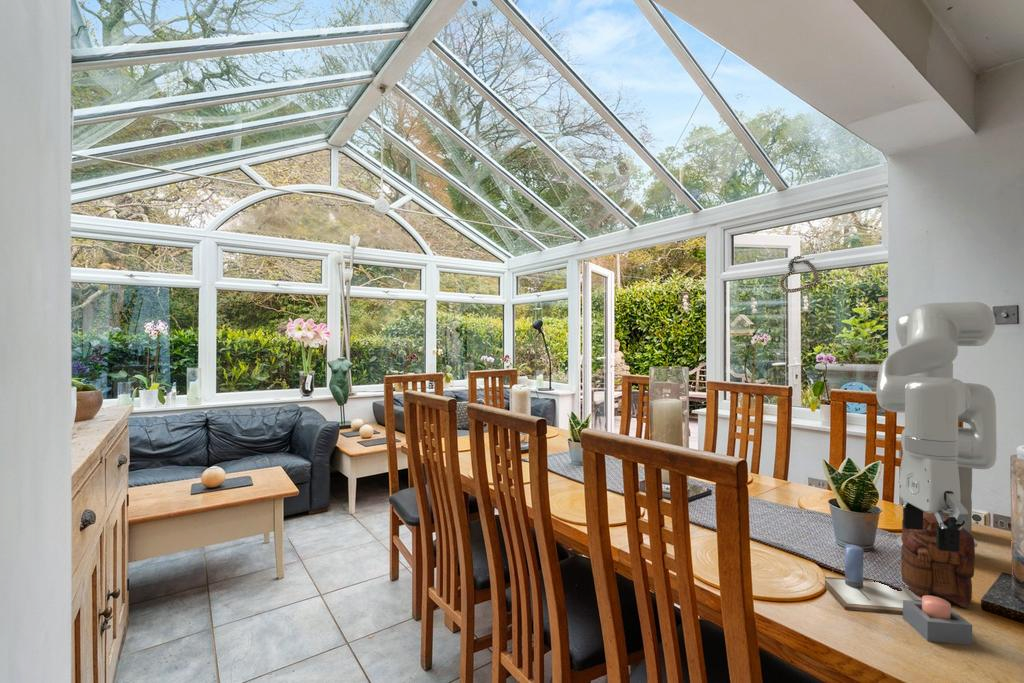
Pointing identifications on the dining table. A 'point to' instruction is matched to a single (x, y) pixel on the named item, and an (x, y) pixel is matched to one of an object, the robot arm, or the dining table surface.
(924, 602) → the button
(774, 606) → the dining table surface
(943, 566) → the wooden figurine
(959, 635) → the button housing
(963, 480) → the thermos bottle
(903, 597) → the clipboard
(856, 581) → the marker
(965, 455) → the robot arm
